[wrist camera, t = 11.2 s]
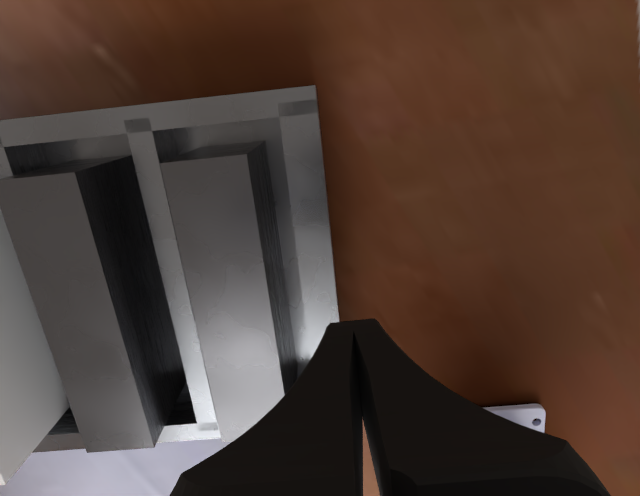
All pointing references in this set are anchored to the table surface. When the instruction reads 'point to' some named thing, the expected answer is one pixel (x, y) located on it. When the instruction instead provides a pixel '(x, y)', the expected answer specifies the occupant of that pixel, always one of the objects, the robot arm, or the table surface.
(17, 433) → the white rectangular block
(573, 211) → the table surface
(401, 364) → the robot arm
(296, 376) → the rack
